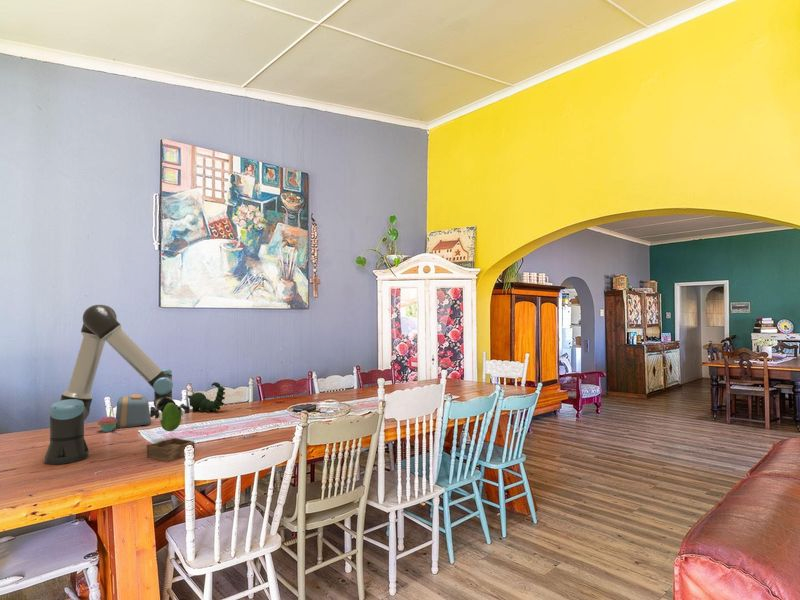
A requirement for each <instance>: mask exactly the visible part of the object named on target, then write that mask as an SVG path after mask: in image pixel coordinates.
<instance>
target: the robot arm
mask: <svg viewBox="0 0 800 600" xmlns="http://www.w3.org/2000/svg"><path fill="white" fill-rule="evenodd" d="M82 322H83V323H82V327H81V329H80V333H81V334H82V336H83V337H82V341H81V342H80V343H81V344H80V346H79V347H80V348H79V351H78V354H77V357H76V361H75V364H74V368H73V371H72V374H71V377H70V381H69V383H68V388H67V390H65V391H64V392H62V393H61V396H60V399H59V401H56V402H53V403H52V404H51V405H50V408H49V444H48V447H47V449H46V452H45V455H44V463H45V464H47V465H64V464H70V463H76V462H80V461H82V460H85V459H87V458H88V457H89V456H90V450H89V448H88V445H87V442H86V440H85V421H86V419H87V418H88V417H89V415H90V411H91V404H92V401H93V399H94V398H93V396H92V394H91V391H92V387H93V383H94V381H95V377H96V374H97V371H98V367H99V364H100V361H101V357H102V354H103V350H104V347H105V343H106V342H107V344H108V345H109V346H110V347H112V349H113V350H114V351H115V352H116V353H117V354H118V355H120V357H122V359H124V360H125V362H127V364H129V366H131V368H133V370H134V371H136V372H137V373H138V375H139V376H141V377H142V378H143V380H144V381H146V382H147V383H148V384H149V386H151V387H152V389H153V391H154V393H153V395H154V396H153V397H154V398H153V406H151V407H150V406H149V411H150V418H153V417H154V418H155V419H159V420H162V412H163V410H164V407H165V406H166V405H167V404H168V403H170V402H171V403H174V404H175V405H176V406H177V407H178V409H179V411H180V414H181V418H185V417H186V415H187V414H189V413H190V406H188V405H186V404H185V403H181V404H179V405H178V404H176V402H175V401H174V400H173V388H174V387H173V386H174V382H173V374H172V373H173V371H172V369H170V368H160V367H159V366H158V365H157V363H155V361H153V360H152V359H151V358H150V356H148V355H147V354H146V353H145V351H143V350H142V349H141V348H140V346H138V344H136V342H134V340H133V339H132V338H130V336H129V335H128V334H127V333H126V332H125V331H124V330H123V328H122V325H121V323H120V322H119V321H118V320H117V314H116V311H115V310H114V309H113V308H112V307H110V306H109V305H105V304H94V305H90V306H89V307H88V308H86V309H85V310H84V312H83V314H82Z"/></svg>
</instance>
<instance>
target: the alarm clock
mask: <svg viewBox="0 0 800 600" xmlns="http://www.w3.org/2000/svg"><path fill="white" fill-rule="evenodd" d="M115 410H116V411H115V418H116V419H117V420H118V421H117V423H116V425H115V427H116V428H118V429H124V427H125V428H132V427H133V426H135V427H142V426H141V425H144V426H148V425H150V424H151V421H152V420H151V418H152V417H150V405H149V399H148V398H147V397H146V396H143V395H142V394H141V393H135V394H133V393H131V394H130V395H129V396H127V395H126V396H124V395H123V396H120V397H119V398H118V400H117V402H116V409H115Z"/></svg>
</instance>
